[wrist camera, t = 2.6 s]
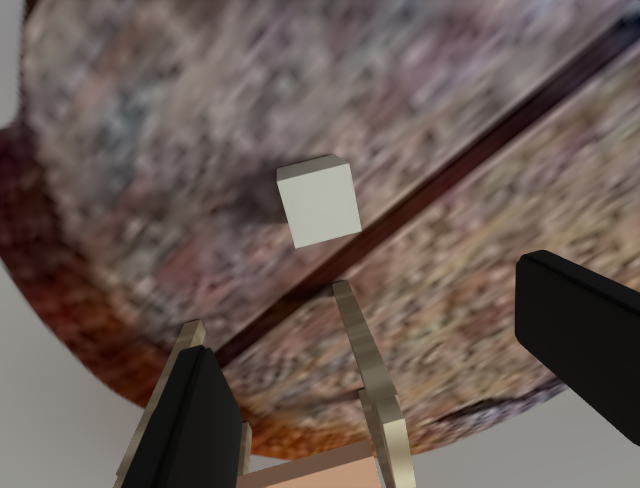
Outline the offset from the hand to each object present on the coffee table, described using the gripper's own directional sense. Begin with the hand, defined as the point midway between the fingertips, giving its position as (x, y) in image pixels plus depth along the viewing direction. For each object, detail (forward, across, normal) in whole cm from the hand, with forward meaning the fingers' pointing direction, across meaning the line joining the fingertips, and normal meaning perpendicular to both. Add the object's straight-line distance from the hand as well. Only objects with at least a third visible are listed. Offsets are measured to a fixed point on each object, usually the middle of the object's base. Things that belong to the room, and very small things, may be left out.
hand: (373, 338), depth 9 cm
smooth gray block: (+20, -1, -1) cm, 20 cm away
